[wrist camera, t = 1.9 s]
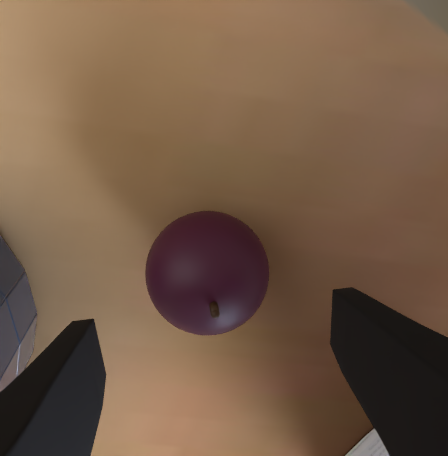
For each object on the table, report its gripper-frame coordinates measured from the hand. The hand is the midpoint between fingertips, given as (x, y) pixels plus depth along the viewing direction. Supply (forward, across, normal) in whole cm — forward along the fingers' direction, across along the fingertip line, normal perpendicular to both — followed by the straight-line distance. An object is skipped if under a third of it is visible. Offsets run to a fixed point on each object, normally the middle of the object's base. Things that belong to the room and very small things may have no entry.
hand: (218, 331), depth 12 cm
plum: (+6, 0, 0) cm, 6 cm away
